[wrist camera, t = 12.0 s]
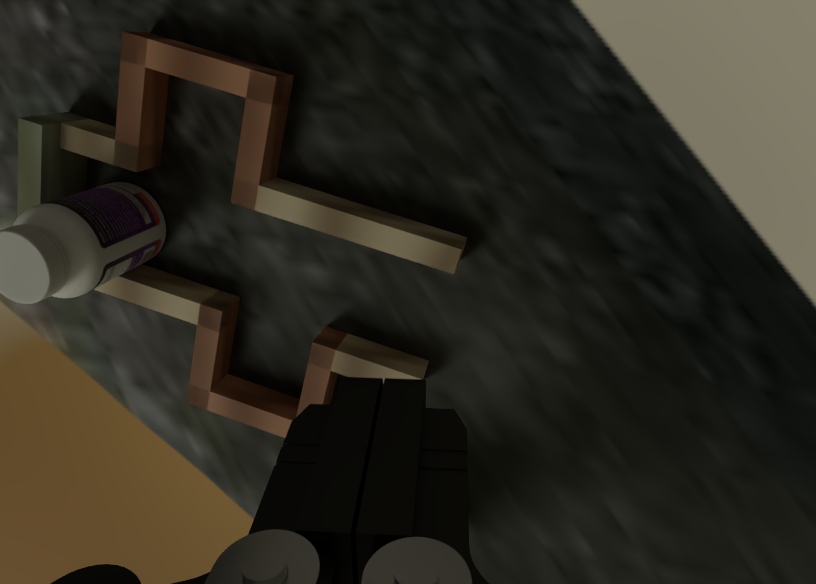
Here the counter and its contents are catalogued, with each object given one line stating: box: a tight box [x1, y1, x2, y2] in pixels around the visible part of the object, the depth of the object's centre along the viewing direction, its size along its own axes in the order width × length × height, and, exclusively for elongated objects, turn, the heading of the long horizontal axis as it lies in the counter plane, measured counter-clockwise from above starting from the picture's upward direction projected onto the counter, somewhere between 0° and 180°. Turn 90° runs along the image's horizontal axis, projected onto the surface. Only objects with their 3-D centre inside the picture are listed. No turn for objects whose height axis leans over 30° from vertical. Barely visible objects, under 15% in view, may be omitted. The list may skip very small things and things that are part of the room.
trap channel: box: [18, 31, 467, 438], centre depth 38 cm, size 26×22×4 cm
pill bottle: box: [0, 182, 166, 304], centre depth 37 cm, size 5×5×10 cm
